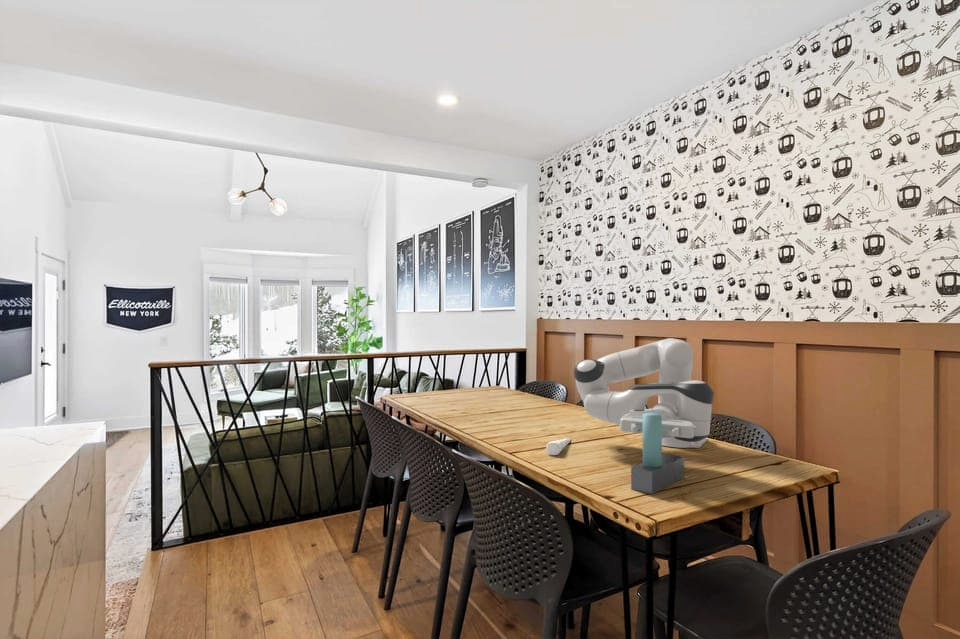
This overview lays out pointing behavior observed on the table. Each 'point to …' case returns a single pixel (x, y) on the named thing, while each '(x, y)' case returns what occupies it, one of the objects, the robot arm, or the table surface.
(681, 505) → the table surface
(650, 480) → the gray block
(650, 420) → the teal post
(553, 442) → the unicorn horn
